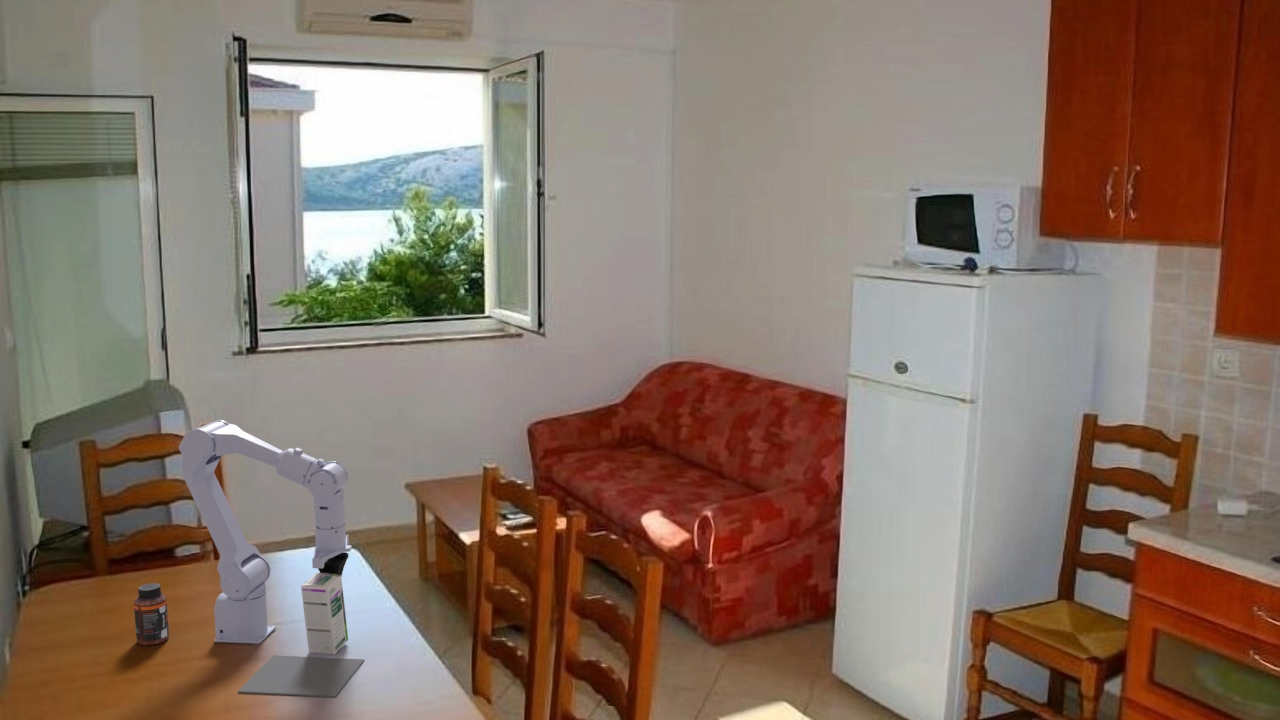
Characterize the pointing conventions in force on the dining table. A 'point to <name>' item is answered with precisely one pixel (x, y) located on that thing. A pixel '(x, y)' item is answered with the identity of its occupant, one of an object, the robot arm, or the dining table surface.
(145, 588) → the supplement bottle
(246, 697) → the dining table surface
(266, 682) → the charcoal mat
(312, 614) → the syrup box
